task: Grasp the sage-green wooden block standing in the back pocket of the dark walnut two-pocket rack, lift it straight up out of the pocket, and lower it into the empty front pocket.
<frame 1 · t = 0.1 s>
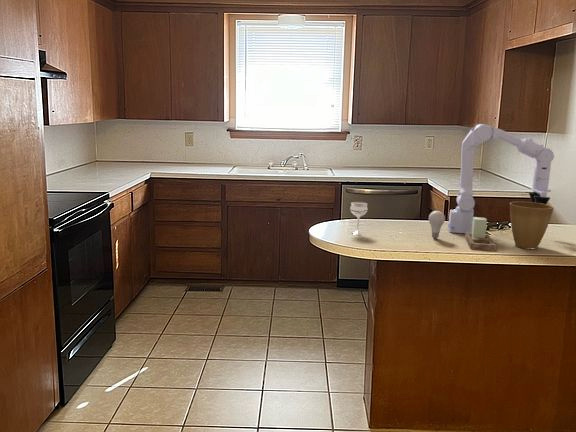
hand: (537, 212, 221), 10 cm above the countertop, fingers open, 7 cm apart
wineglass: (357, 233, 220), on the countertop
plant pot: (526, 247, 207), on the countertop
green block: (477, 241, 213), resting in pocket rack
pocket rack: (479, 243, 209), on the countertop
lightbulb: (434, 239, 215), on the countertop
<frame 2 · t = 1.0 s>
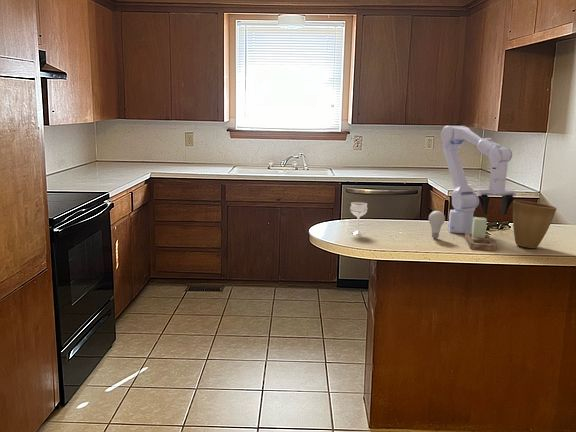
hand: (494, 214, 213), 10 cm above the countertop, fingers open, 7 cm apart
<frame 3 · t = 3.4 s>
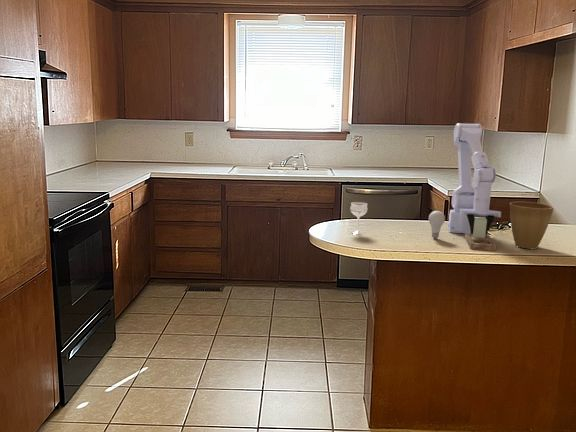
hand: (478, 234, 212), 3 cm above the countertop, fingers closed on green block, 4 cm apart
green block: (477, 241, 213), resting in pocket rack, touching gripper
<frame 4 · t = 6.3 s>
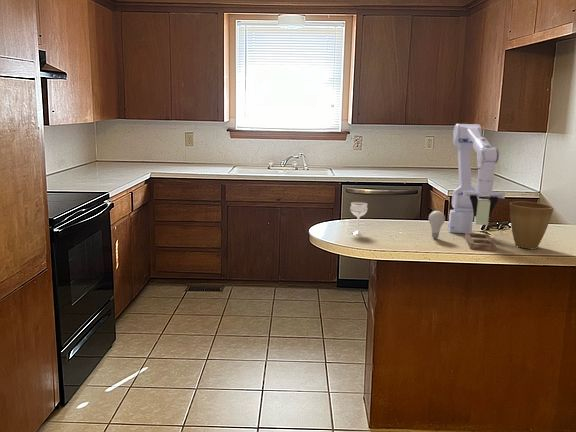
hand: (481, 216, 208), 10 cm above the countertop, fingers closed on green block, 4 cm apart
green block: (480, 223, 208), point 8 cm above the countertop, touching gripper
everything else where it was.
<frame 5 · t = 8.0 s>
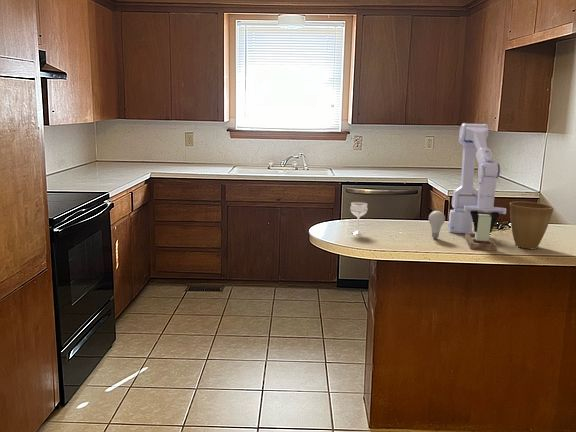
hand: (482, 231, 203), 6 cm above the countertop, fingers closed on green block, 4 cm apart
green block: (481, 239, 204), point 3 cm above the countertop, touching gripper
everything else where it was.
when the fingers open (4 cm above the countertop, at t = 9.2 s): green block drops 1 cm, resting in pocket rack.
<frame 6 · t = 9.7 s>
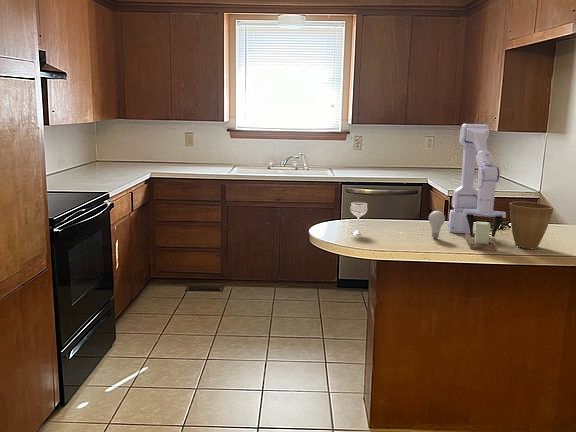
hand: (482, 235, 204), 4 cm above the countertop, fingers open, 7 cm apart
green block: (480, 246, 205), resting in pocket rack
everything else where it was.
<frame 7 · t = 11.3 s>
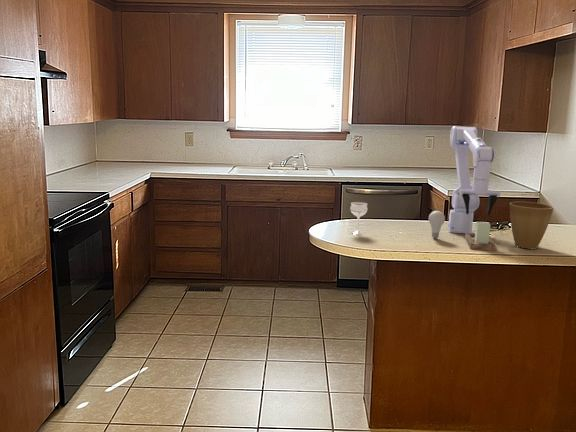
hand: (477, 214, 211), 10 cm above the countertop, fingers open, 7 cm apart
nothing on the countertop moved.
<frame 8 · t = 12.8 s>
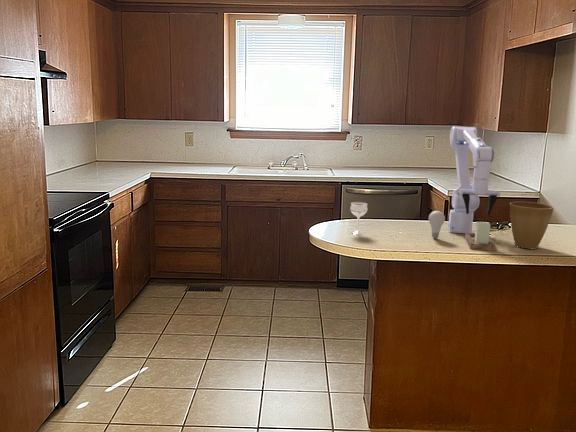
hand: (477, 214, 212), 10 cm above the countertop, fingers open, 7 cm apart
nothing on the countertop moved.
at the end: green block 0.0 cm from the target spot on the pocket rack, point 0.0 cm above the pocket rack's base; green block tilted 0°; the gripper is holding nothing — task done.
